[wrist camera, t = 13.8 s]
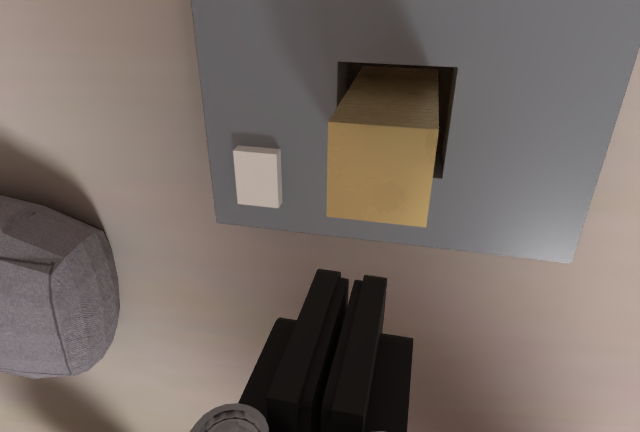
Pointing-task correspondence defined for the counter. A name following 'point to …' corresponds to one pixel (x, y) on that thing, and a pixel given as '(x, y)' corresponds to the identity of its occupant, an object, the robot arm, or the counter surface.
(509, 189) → the socket
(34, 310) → the soft grey pack
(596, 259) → the counter surface
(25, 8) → the counter surface
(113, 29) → the counter surface
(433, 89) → the plug
